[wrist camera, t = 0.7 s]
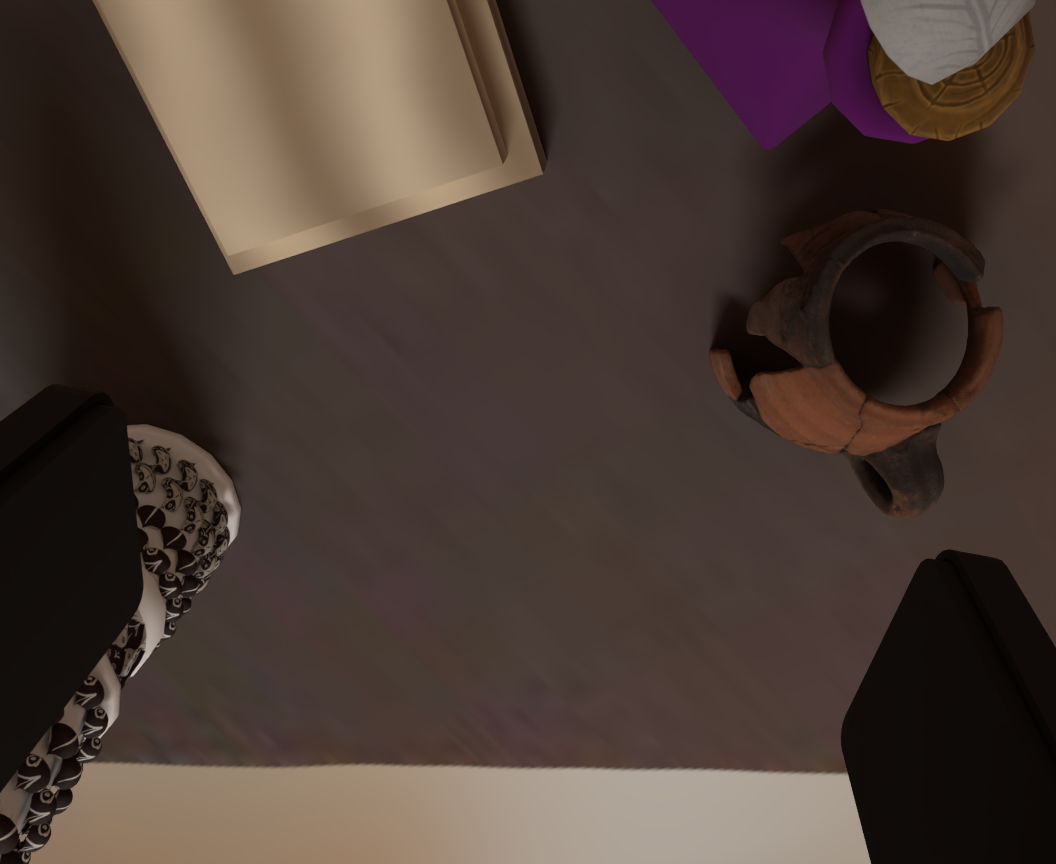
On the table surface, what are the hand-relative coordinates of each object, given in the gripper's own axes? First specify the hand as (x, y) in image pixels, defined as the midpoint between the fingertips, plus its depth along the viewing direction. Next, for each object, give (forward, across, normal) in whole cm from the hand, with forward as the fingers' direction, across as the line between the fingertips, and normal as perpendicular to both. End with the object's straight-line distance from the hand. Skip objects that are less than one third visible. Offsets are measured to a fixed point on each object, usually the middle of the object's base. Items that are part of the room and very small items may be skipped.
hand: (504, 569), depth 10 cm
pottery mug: (+26, -11, +6) cm, 29 cm away
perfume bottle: (+26, -5, -6) cm, 27 cm away
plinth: (+25, +10, -2) cm, 27 cm away
